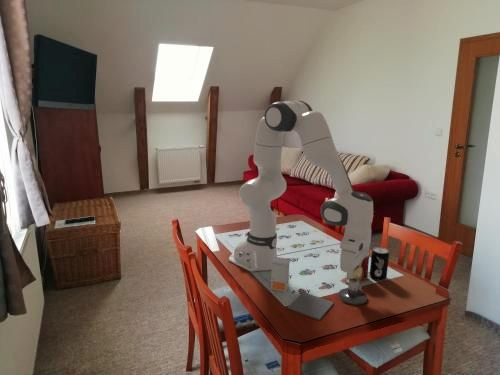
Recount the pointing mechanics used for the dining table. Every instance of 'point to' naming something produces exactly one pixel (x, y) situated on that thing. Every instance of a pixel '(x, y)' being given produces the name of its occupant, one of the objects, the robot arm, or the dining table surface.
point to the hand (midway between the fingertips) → (354, 274)
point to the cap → (356, 274)
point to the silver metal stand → (353, 294)
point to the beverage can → (379, 263)
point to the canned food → (365, 268)
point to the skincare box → (280, 274)
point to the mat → (311, 305)
